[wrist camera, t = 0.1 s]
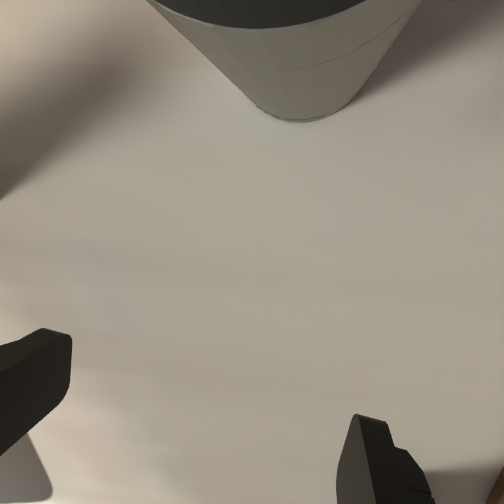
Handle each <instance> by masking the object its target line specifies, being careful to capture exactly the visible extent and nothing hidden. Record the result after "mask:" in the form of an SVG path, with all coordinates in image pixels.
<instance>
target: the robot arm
mask: <svg viewBox="0 0 504 504" xmlns="http://www.w3.org/2000/svg"><path fill="white" fill-rule="evenodd" d="M146 1H147V2H148V3H149V4H150V5H152V6H153V7H154V8H155V9H156V10H157V11H158V12H159V13H160V14H161V15H162V16H163V17H164V18H165V19H166V20H167V21H168V22H169V23H170V24H171V25H172V26H174V27H175V28H176V29H177V30H178V31H179V32H180V33H181V34H182V35H183V36H184V37H185V38H187V39H188V40H189V41H190V42H191V43H192V44H193V45H194V46H195V47H196V48H197V49H198V50H199V51H200V52H201V53H202V54H203V55H204V56H205V57H206V58H207V59H208V60H209V61H210V62H212V63H213V64H214V65H215V66H216V67H217V68H218V69H219V70H220V71H221V72H222V73H223V74H224V75H225V76H226V77H227V78H228V79H229V80H230V81H231V82H232V83H233V84H234V85H236V86H237V87H238V88H239V89H240V90H241V91H242V92H243V93H244V94H245V95H246V96H247V97H248V98H249V99H250V100H251V101H252V102H253V103H254V104H255V105H256V106H257V107H258V108H259V109H261V110H262V111H264V112H265V113H267V114H269V115H271V116H273V117H274V118H276V119H280V120H284V121H287V122H297V123H306V122H311V121H316V120H320V119H322V118H325V117H327V116H329V115H332V114H334V113H335V112H337V111H338V110H340V109H341V108H342V107H344V106H345V105H347V104H348V102H349V101H350V100H351V99H352V98H353V97H354V96H355V95H356V94H357V93H358V92H359V90H360V89H361V88H362V86H363V85H364V83H365V82H366V81H367V79H368V78H369V77H370V75H371V74H372V73H373V71H374V70H375V68H376V67H377V65H378V64H379V62H380V61H381V60H382V58H383V57H384V55H385V54H386V52H387V51H388V49H389V48H390V47H391V45H392V44H393V42H394V41H395V39H396V38H397V36H398V35H399V34H400V32H401V31H402V29H403V28H404V26H405V25H406V23H407V22H408V21H409V19H410V18H411V16H412V15H413V13H414V12H415V10H416V9H417V8H418V6H419V5H420V3H421V2H422V0H146ZM71 356H72V338H71V336H70V335H68V334H64V333H61V332H57V331H53V330H50V329H46V328H41V329H38V330H36V331H34V332H33V333H31V334H29V335H27V336H25V337H23V338H22V339H20V340H17V341H14V342H10V343H7V344H4V345H0V456H1V455H2V454H3V453H4V452H6V451H7V450H8V449H9V448H10V447H11V446H12V445H13V444H15V443H16V442H17V441H18V440H19V439H20V438H21V437H22V436H24V435H25V434H26V433H27V432H28V431H29V430H30V429H32V428H33V427H34V426H35V425H36V424H37V423H38V422H39V421H41V420H42V419H43V418H44V417H45V416H46V415H47V414H49V413H50V412H51V411H52V410H53V409H54V408H55V407H56V406H57V405H59V403H60V402H61V401H62V400H63V398H64V397H65V395H66V393H67V390H68V388H69V384H70V373H71ZM336 494H337V504H435V501H434V499H433V498H432V497H431V494H432V493H431V491H430V488H429V486H428V483H427V481H426V478H425V475H424V473H423V471H422V469H421V468H420V467H419V466H418V464H417V463H416V462H415V460H414V459H413V458H412V457H411V455H410V454H409V453H408V451H407V450H404V449H400V448H397V447H395V446H394V443H393V440H392V437H391V433H390V430H389V427H388V424H387V423H386V422H385V421H381V420H377V419H374V418H370V417H366V416H363V415H359V414H354V416H353V418H352V420H351V423H350V427H349V430H348V433H347V437H346V440H345V443H344V447H343V450H342V453H341V457H340V460H339V464H338V470H337V478H336Z"/></svg>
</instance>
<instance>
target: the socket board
mask: <svg viewBox="0 0 504 504" xmlns="http://www.w3.org/2000/svg"><path fill="white" fill-rule="evenodd" d="M486 504H504V468H503V470H502V472H501V474H500V476H499V478H498V480H497V482H496V484H495V486H494V488H493V490H492V492H491V494H490V496H489V498H488V500H487V502H486Z"/></svg>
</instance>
